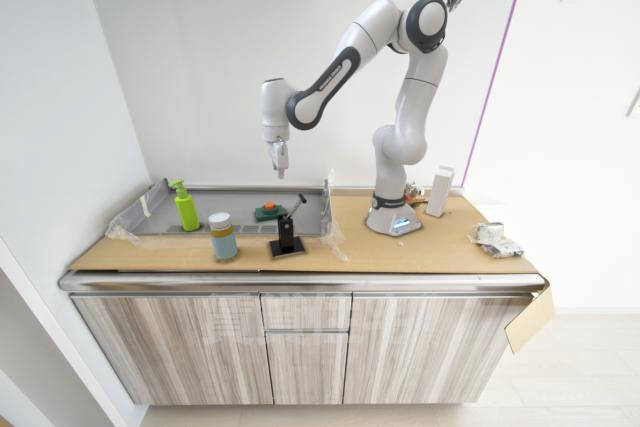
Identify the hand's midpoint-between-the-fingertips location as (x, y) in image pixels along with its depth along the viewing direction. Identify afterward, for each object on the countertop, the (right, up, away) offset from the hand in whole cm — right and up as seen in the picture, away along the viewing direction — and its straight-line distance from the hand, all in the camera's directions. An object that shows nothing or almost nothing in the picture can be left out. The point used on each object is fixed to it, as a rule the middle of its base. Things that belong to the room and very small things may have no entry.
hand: (278, 173), depth 86 cm
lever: (+7, -14, -6) cm, 17 cm away
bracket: (+3, -27, -1) cm, 27 cm away
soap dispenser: (-37, -20, +10) cm, 43 cm away
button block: (-7, -15, +20) cm, 26 cm away
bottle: (-16, -29, -5) cm, 33 cm away
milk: (+68, -14, +24) cm, 73 cm away
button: (-7, -12, +19) cm, 23 cm away
